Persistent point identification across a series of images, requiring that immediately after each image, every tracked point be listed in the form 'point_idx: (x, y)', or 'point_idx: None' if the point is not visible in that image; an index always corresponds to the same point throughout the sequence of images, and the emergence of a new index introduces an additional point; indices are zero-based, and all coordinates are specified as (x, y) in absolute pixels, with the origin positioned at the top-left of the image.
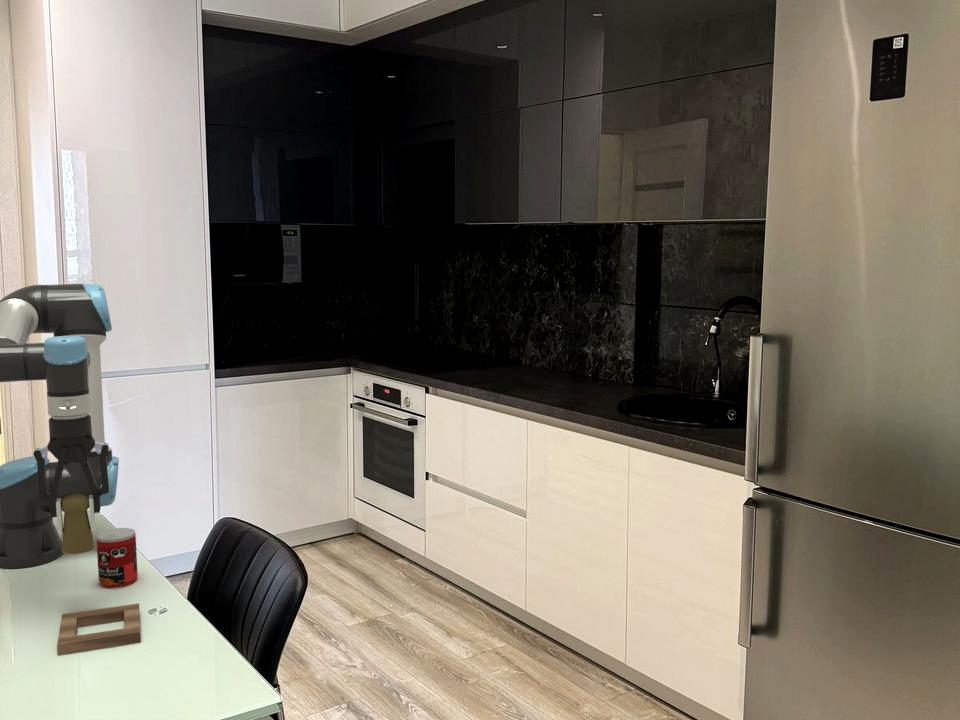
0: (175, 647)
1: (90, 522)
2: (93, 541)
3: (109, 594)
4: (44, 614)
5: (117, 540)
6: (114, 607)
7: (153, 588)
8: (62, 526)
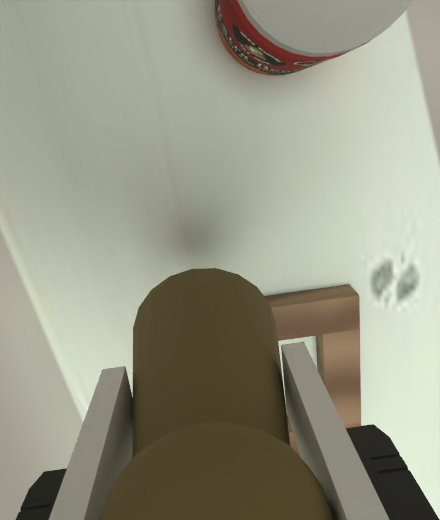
0: (417, 461)
1: (299, 450)
2: (277, 337)
3: (259, 126)
4: (100, 237)
5: (343, 50)
6: (296, 308)
7: (389, 109)
8: (127, 415)
